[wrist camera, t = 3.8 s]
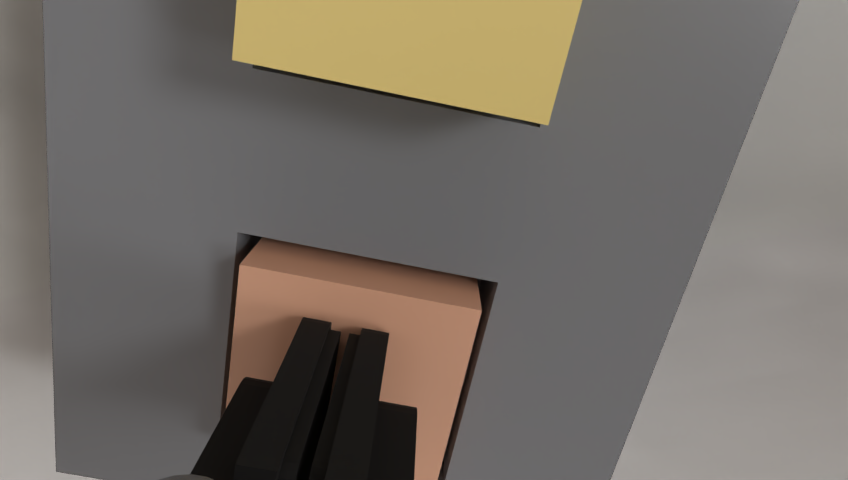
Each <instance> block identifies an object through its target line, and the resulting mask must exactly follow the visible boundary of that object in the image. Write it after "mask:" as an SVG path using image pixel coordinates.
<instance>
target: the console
mask: <svg viewBox="0 0 848 480" xmlns="http://www.w3.org/2000/svg"><path fill="white" fill-rule="evenodd" d="M798 2H799V0H582V3H581V7H580V11H579V14H578V18H577V22H576V25H575V29H574V33H573V36H572V40H571V44H570V47H569V51H568V55H567V58H566V62H565V66H564V69H563V73H562V77H561V80H560V84H559V88H558V91H557V95H556V99H555V102H554V106H553V110H552V113H551V117H550V121H549V124H548V125H544V124H539V123H534V122H529V121H524V120H520V119H515V118H510V117H505V116H500V115H495V114H491V113H486V112H481V111H476V110H471V109H466V108H462V107H457V106H452V105H447V104H442V103H437V102H433V101H428V100H423V99H418V98H413V97H408V96H404V95H399V94H394V93H389V92H384V91H379V90H375V89H370V88H365V87H360V86H355V85H350V84H346V83H341V82H336V81H331V80H326V79H321V78H317V77H312V76H307V75H302V74H297V73H292V72H288V71H283V70H278V69H273V68H268V67H263V66H259V65H254V64H249V63H244V62H239V61H234V60H232V53H233V41H234V28H235V16H236V3H237V0H43V32H44V67H45V102H46V137H47V172H48V207H49V242H50V277H51V312H52V347H53V382H54V417H55V452H56V472H61V473H67V474H73V475H79V476H85V477H91V478H96V479H102V480H159V479H163V478H166V477H170V476H173V475H187V474H190V473H191V471H192V470H193V468H194V466H195V464H196V462H197V461H198V459H199V457H200V455H201V453H202V451H203V450H204V448H205V446H206V444H207V442H208V441H209V439H210V437H211V435H212V433H213V432H214V430H215V428H216V426H217V424H218V422H219V421H220V419H221V417H222V415H223V413H224V412H225V410H226V401H227V391H228V380H229V370H230V360H231V349H232V339H233V328H234V318H235V307H236V297H237V286H238V276H239V265H240V263H241V262H242V261H243V260H244V259H245V257H246V256H247V255H248V254H249V253H250V252H251V250H252V249H253V248H254V247H255V246H256V244H257V243H258V242H259V241H260V240H261V238H262V237H265V238H270V239H275V240H281V241H286V242H291V243H296V244H301V245H306V246H312V247H317V248H322V249H327V250H332V251H337V252H343V253H348V254H353V255H358V256H363V257H368V258H374V259H379V260H384V261H389V262H394V263H399V264H405V265H410V266H415V267H420V268H425V269H430V270H436V271H441V272H446V273H451V274H456V275H461V276H467V277H472V278H477V282H478V288H479V295H480V301H481V308H482V312H481V316H480V320H479V324H478V328H477V331H476V335H475V339H474V343H473V347H472V351H471V354H470V358H469V362H468V366H467V370H466V373H465V377H464V381H463V385H462V389H461V392H460V396H459V400H458V404H457V408H456V411H455V415H454V419H453V423H452V427H451V431H450V434H449V438H448V442H447V446H446V450H445V453H444V457H443V461H442V465H441V469H440V472H439V476H438V480H610V479H611V477H612V474H613V472H614V469H615V466H616V464H617V461H618V459H619V456H620V454H621V451H622V449H623V446H624V444H625V441H626V439H627V436H628V433H629V431H630V428H631V426H632V423H633V421H634V418H635V416H636V413H637V411H638V408H639V406H640V403H641V401H642V398H643V395H644V393H645V390H646V388H647V385H648V383H649V380H650V378H651V375H652V373H653V370H654V368H655V365H656V362H657V360H658V357H659V355H660V352H661V350H662V347H663V345H664V342H665V340H666V337H667V335H668V332H669V329H670V327H671V324H672V322H673V319H674V317H675V314H676V312H677V309H678V307H679V304H680V302H681V299H682V296H683V294H684V291H685V289H686V286H687V284H688V281H689V279H690V276H691V274H692V271H693V269H694V266H695V264H696V261H697V258H698V256H699V253H700V251H701V248H702V246H703V243H704V241H705V238H706V236H707V233H708V231H709V228H710V225H711V223H712V220H713V218H714V215H715V213H716V210H717V208H718V205H719V203H720V200H721V198H722V195H723V192H724V190H725V187H726V185H727V182H728V180H729V177H730V175H731V172H732V170H733V167H734V165H735V162H736V159H737V157H738V154H739V152H740V149H741V147H742V144H743V142H744V139H745V137H746V134H747V132H748V129H749V127H750V124H751V121H752V119H753V116H754V114H755V111H756V109H757V106H758V104H759V101H760V99H761V96H762V94H763V91H764V88H765V86H766V83H767V81H768V78H769V76H770V73H771V71H772V68H773V66H774V63H775V61H776V58H777V55H778V53H779V50H780V48H781V45H782V43H783V40H784V38H785V35H786V33H787V30H788V28H789V25H790V22H791V20H792V17H793V15H794V12H795V10H796V7H797V5H798Z"/></svg>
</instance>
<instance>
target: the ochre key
mask: <svg viewBox="0 0 848 480" xmlns="http://www.w3.org/2000/svg"><path fill="white" fill-rule="evenodd" d="M581 3H582V0H237V3H236V16H235V28H234V41H233V53H232V60H234V61H239V62H244V63H249V64H254V65H259V66H263V67H268V68H273V69H278V70H283V71H288V72H292V73H297V74H302V75H307V76H312V77H317V78H321V79H326V80H331V81H336V82H341V83H346V84H350V85H355V86H360V87H365V88H370V89H375V90H379V91H384V92H389V93H394V94H399V95H404V96H408V97H413V98H418V99H423V100H428V101H433V102H437V103H442V104H447V105H452V106H457V107H462V108H466V109H471V110H476V111H481V112H486V113H491V114H495V115H500V116H505V117H510V118H515V119H520V120H524V121H529V122H534V123H539V124H544V125H548V124H549V121H550V117H551V113H552V110H553V106H554V102H555V99H556V95H557V91H558V88H559V84H560V80H561V77H562V73H563V69H564V66H565V62H566V58H567V55H568V51H569V47H570V44H571V40H572V36H573V33H574V29H575V25H576V22H577V18H578V14H579V11H580V7H581Z"/></svg>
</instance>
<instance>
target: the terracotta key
mask: <svg viewBox="0 0 848 480" xmlns="http://www.w3.org/2000/svg"><path fill="white" fill-rule="evenodd" d="M481 312H482V308H481V301H480V295H479V288H478V282H477V278H472V277H467V276H461V275H456V274H451V273H446V272H441V271H436V270H430V269H425V268H420V267H415V266H410V265H405V264H399V263H394V262H389V261H384V260H379V259H374V258H368V257H363V256H358V255H353V254H348V253H343V252H337V251H332V250H327V249H322V248H317V247H312V246H306V245H301V244H296V243H291V242H286V241H281V240H275V239H270V238H265V237H262V238H261V240H260V241H259V242H258V243H257V244H256V246H255V247H254V248H253V249H252V250H251V252H250V253H249V254H248V255H247V256H246V257H245V259H244V260H243V261H242V262H241V263H240V265H239V276H238V286H237V297H236V307H235V318H234V328H233V339H232V349H231V360H230V370H229V380H228V391H227V401H226V408H227V406H228V404H229V403H230V401H231V399H232V397H233V395H234V393H235V392H236V390H237V388H238V386H239V384H240V383H241V381H242V380H243V378H245V377H250V378H256V379H261V380H267V381H272V382H273V381H274V379H275V377H276V374H277V372H278V370H279V368H280V366H281V364H282V361H283V359H284V357H285V355H286V353H287V351H288V348H289V346H290V344H291V342H292V340H293V338H294V335H295V333H296V331H297V329H298V327H299V325H300V322H301V320H302V318H303V317H306V318H312V319H317V320H323V321H328V322H332V325H331V330H335V331H341V336H340V342H339V348H338V354H337V360H336V366H335V372H334V378H333V383H332V389H331V395H330V400H331V396H332V393H333V389H334V386H335V382H336V379H337V375H338V372H339V368H340V365H341V361H342V358H343V354H344V351H345V347H346V343H347V340H348V336H349V333H351V334H357V335H360V334H361V330H362V328H366V329H371V330H376V331H382V332H387V333H389V339H388V346H387V352H386V359H385V365H384V372H383V378H382V385H381V391H380V398H379V401H384V402H389V403H395V404H400V405H406V406H411V407H417V432H416V453H415V473H414V480H438V476H439V472H440V469H441V465H442V461H443V457H444V453H445V450H446V446H447V442H448V438H449V434H450V431H451V427H452V423H453V419H454V415H455V411H456V408H457V404H458V400H459V396H460V392H461V389H462V385H463V381H464V377H465V373H466V370H467V366H468V362H469V358H470V354H471V351H472V347H473V343H474V339H475V335H476V331H477V328H478V324H479V320H480V316H481ZM329 403H330V401H329Z"/></svg>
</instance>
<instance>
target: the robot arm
mask: <svg viewBox="0 0 848 480" xmlns="http://www.w3.org/2000/svg"><path fill="white" fill-rule="evenodd" d="M331 325H332V322H328V321H323V320H317V319H312V318H306V317H303V318H302V320H301V322H300V325H299V327H298V329H297V331H296V333H295V335H294V338H293V340H292V342H291V344H290V346H289V348H288V351H287V353H286V355H285V357H284V359H283V361H282V364H281V366H280V368H279V370H278V372H277V374H276V377H275V379H274V381H273V382H272V381H267V380H261V379H256V378H250V377H245V378H243V380H242V381H241V383H240V384H239V386H238V388H237V390H236V392H235V393H234V395H233V397H232V399H231V401H230V403H229V404H228V406H227V408H226V410H225V412H224V413H223V415H222V417H221V419H220V421H219V422H218V424H217V426H216V428H215V430H214V432H213V433H212V435H211V437H210V439H209V441H208V442H207V444H206V446H205V448H204V450H203V451H202V453H201V455H200V457H199V459H198V461H197V462H196V464H195V466H194V468H193V470H192V471H191V473H190V474H187V475H173V476H170V477H166V478H163V479H159V480H414V473H415V453H416V432H417V407H411V406H406V405H400V404H395V403H389V402H384V401H379V398H380V391H381V385H382V378H383V372H384V365H385V359H386V352H387V346H388V339H389V333H387V332H382V331H376V330H371V329H366V328H362V330H361V334H360V335H357V334H351V333H349V336H348V340H347V343H346V347H345V351H344V354H343V358H342V361H341V365H340V368H339V372H338V375H337V379H336V382H335V386H334V389H333V393H332V396H331V400H330V395H331V389H332V383H333V378H334V372H335V366H336V360H337V354H338V348H339V342H340V336H341V331H335V330H331ZM329 401H330V403H329Z"/></svg>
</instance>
